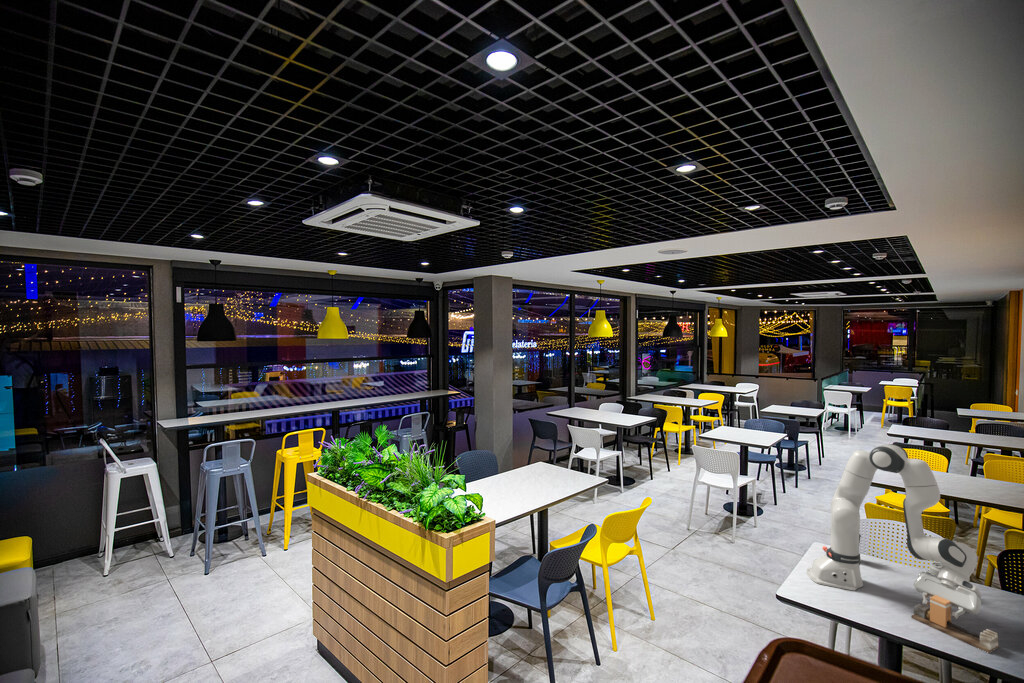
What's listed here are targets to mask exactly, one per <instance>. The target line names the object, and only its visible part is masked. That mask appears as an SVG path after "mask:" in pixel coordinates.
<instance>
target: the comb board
mask: <svg viewBox="0 0 1024 683" xmlns="http://www.w3.org/2000/svg"><path fill="white" fill-rule="evenodd" d="M910 617H911V619H913V620H915V621H918V622H919V623H921V624H924V625H926V626H928V627H931V629H934V630H936V631H939V632H941V633H943V634H945V635H947V636H949V637H952V638H954V639H956V640H958V641H961V642H963V643H965V644H968V645H969V646H972V647H974V648H976V649H978V648H979V649H978V650H980V649H981V650H980V651H982V650H984V651H986V652H985V653H987V652H988V653H987V654H991V653H992V652H994V651H995V650H994V649H996V648H997V649H999V648H1000V644H999V635H998V634H999V633H997V632H995V631H994V630H990V629H988V628H986V629H985V630H982V631H981V632H980V633H976V632H974V631H971V630H969V629H967V628H964V627H962V626H960V625H958V624H957V623H956V624H955V623H953V622H952V621H951V622H949V621H947V627H946V628H945V627H943V626H941V625H938V624H936V623H934V622H932V621H930V607H929V606H926V605H924V604H923V603H922V604H921V603H918V604H915V605H914V606H913V614H912V615H911V616H910ZM998 647H999V648H998ZM997 649H996V650H997ZM993 650H994V651H993ZM984 651H983V652H984ZM991 651H992V652H991ZM990 652H991V653H990Z"/></svg>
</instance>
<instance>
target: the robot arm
mask: <svg viewBox="0 0 1024 683" xmlns="http://www.w3.org/2000/svg"><path fill="white" fill-rule="evenodd" d="M877 470H880V471H883V472H889V473H892V474H899V476H900V477H901V479H902V481H903V482H902V483H903V485H904V488H905V498H904V499H903V501H902V504H903V505H902V509H903V515H904V522H905V529H906V536H907V537H906V547H907V550H908V551H909V553H910V554H911V555H912V557H914V558H915V559H917V560H921V561H932V562H938V563H942V565H943V566H942V567H941V569H940V572H939V574H938V576H937V575H935V574H931V573H929V571H920V572H919V574H918V577H917V578H916V580H915V581H914V583H913V587H914V588H915V590H916V591H917V592H919V593H921V595H922V599H923V600H922V605H924V606H926V607H930V600H928V598H930V597H932V596H934V595H937V596H939V597H942V598H944V599H947V600H949V601H951V607H952V606H953V607H955V608H957V609H958V610H956V611H954V610H952V611H951V618H955V619H956V620H957V619H959V616H961V615H964V614H965V613H966V612H967V613H970V614H972V615H974V616H975V615H978V614H980V611H981V608H982V607H981V606H982V600H981V598H982V597H983V595H982V592H981V591H980V589H979V588H978V587H977V586H976V585H975V584H974V583H971V582H970V577H971V575H972V574H973V573H974V570H975V568H976V565H977V561H978V555H977V553H976V551H975V549H974V548H972V547H971V546H969V545H967V544H965V543H962V542H955V541H953V540H951V539H949V538H943V537H937V536H928V535H926V533H925V531H924V526H923V520H922V515H923V514H922V513H923V512H924V511H925V510H927V509H930V508H931V507H934V506H935V505H937V504H938V503H939V501H940V499H941V492H940V488H939V486H938V482H937V480H936V477H935V475H934V472H933V471H932V470H931V467H930V466H929V463H927V462H926V461H924V460H922V459H918V458H909V455H908V452H907V451H906V450H905V449H904V448H903V447H902V446H900V445H897V444H890V443H889V444H882V445H879V446H877V447H876V446H875V447H874V448H873V449H872V450H871V451H866V450H864V449H863V450H861V449H860V450H859V449H857V450H855V451H853V453H852V454H851V455H850V457H849V459H848V461H847V462H846V465H845V467H844V470H843V472H842V474H841V479H840V480H839V483H838V485H837V487H836V490H835V492H834V495H833V496H832V498H831V499H832V500H831V501H830V517H831V518H830V547H829V548H828V547H827V546H825V545H824V546H822V550H823V551H824V552H825V555H822V556H820V557H819V558H817V559H815V560H813V562H812V565H811V567H808V568H806V574H807V576H808V577H809V579H810V580H811V581H813V582H815V583H816V584H819V585H822V586H823V585H824V586H827V587H833V588H838V589H844V590H850V591H856V590H858V589H859V588H862V587H863V586H864V582H863V579H862V574H861V568H860V566H861V561H862V560H861V553H860V544H859V534H860V532H861V530H860V528H861V514H860V509H861V507H862V506H861V505H862V504H863V502H864V500H865V498H866V496H867V495H868V493H869V490H870V487H871V486H872V482H873V479H874V476H875V474H876V472H877Z"/></svg>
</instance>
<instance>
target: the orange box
mask: <svg viewBox="0 0 1024 683" xmlns="http://www.w3.org/2000/svg"><path fill="white" fill-rule="evenodd" d="M929 608H930V621H932V622H934V623H936V624H938V625H941V626H943V627H945V628H946V627H947V621H949V622H951V623H952V615H951V614H952V605H951V601H949V600H947V599H944V598H942V597H939V596H937V595H934V596H932V597H930V596H929Z"/></svg>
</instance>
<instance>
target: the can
mask: <svg viewBox="0 0 1024 683" xmlns="http://www.w3.org/2000/svg"><path fill="white" fill-rule="evenodd" d="M942 566H943V565H942V563H940V562H936V561H932V562H931V563H930V565H929V571H928V572H929V573H931V574H935V575H937V576H938V574H939V572H940V569H941V567H942Z"/></svg>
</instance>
